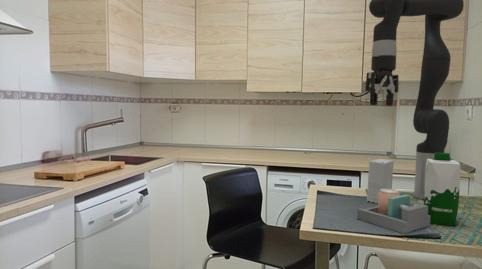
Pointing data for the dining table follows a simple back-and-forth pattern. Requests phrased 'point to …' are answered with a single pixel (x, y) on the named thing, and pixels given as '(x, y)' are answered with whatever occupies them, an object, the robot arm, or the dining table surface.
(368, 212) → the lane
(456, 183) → the milk carton
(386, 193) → the jar
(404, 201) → the plate
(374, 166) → the skincare box
